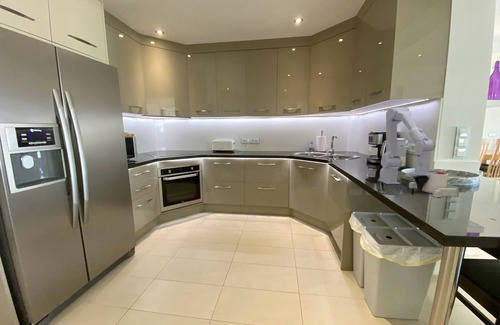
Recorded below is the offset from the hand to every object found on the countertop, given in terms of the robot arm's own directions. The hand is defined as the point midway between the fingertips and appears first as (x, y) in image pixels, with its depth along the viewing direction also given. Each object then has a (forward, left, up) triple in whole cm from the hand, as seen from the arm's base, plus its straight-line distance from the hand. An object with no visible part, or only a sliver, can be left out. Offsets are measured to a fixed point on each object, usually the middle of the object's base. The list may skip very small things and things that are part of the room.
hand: (419, 190), depth 111 cm
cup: (-1, +7, -1) cm, 7 cm away
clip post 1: (-8, +2, -1) cm, 8 cm away
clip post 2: (+8, +2, -1) cm, 8 cm away
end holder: (0, +8, -1) cm, 8 cm away
